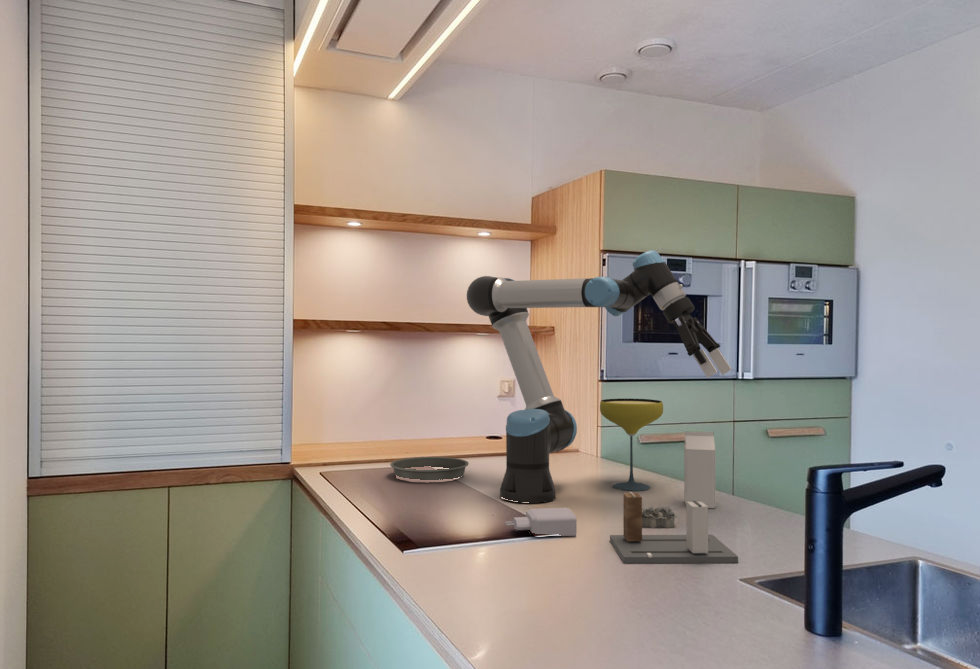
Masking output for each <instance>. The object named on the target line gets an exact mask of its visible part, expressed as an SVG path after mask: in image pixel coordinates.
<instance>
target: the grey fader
mask: <svg viewBox="0 0 980 669" xmlns="http://www.w3.org/2000/svg"><path fill="white" fill-rule="evenodd" d="M685 506H686V535H687V548H688V549H689V550H690V551H691V552H692V553H708V535H709V508H708V506H706V505H705V504H704V503H702V502H697V501H695V500H693V502H686V504H685Z"/></svg>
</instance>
